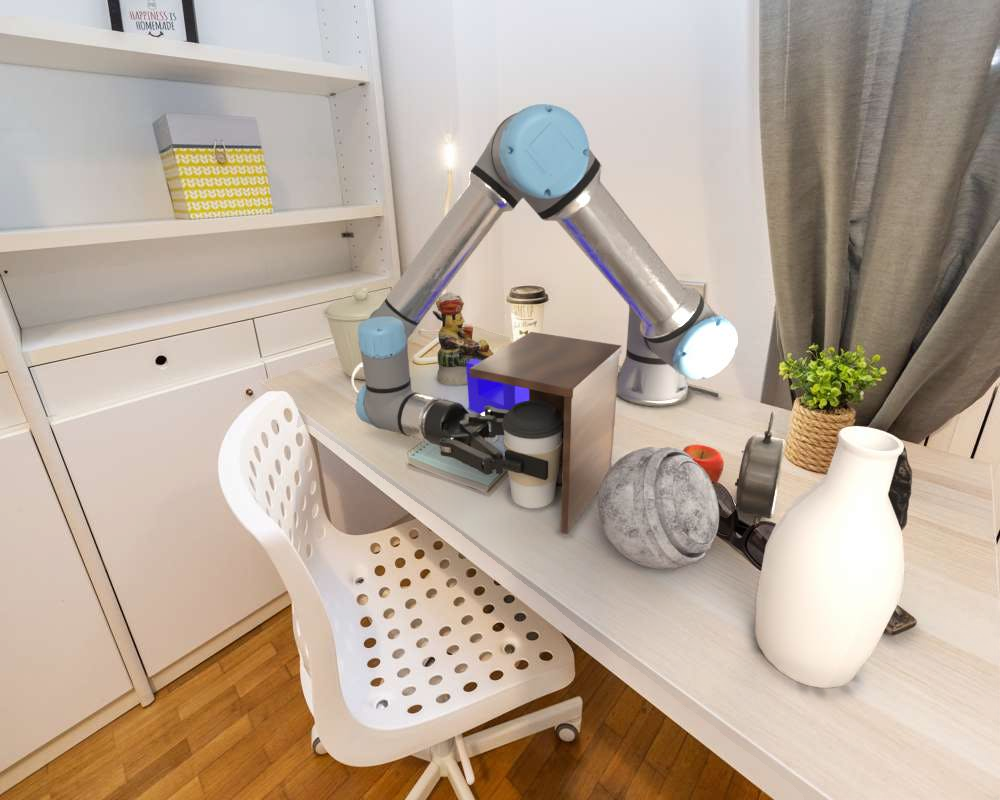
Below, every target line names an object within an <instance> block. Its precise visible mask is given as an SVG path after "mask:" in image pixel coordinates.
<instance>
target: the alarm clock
mask: <svg viewBox="0 0 1000 800" xmlns="http://www.w3.org/2000/svg"><path fill="white" fill-rule="evenodd" d="M774 419H775V411H771V413H770V417H769V422H768V428H767V430H765V431H764V435H760V434H759V435H758V434H756V435H752V436H751V437H750V438H748V439H747V442H746V443H745V447H744V450H741V453H742V457H741V462H740V467H739V473H738V477H737V478H736V481H735V482H734V486H735V487H736V497H735V500H736V501H735V502H736V504H735V505H734V508H735V509H736V508H738V509H739V510H740V511H741V512H742V513H744V514H745V513H746V514H749V515H753V516H754V517H753V518H754V519H753V525H754V524H755V523H757V522H759V523H760V522H761V518H766V519H772V517H773V515H774V511H775V506H776V505H775V504H776V501H777V496H778V491H779V484H780V479H781V474H782V467H783V460H784V454H785V449H786V440H785V439H784V438H775V437H773V432H772V431H771V430H772V427H773V424H774V423H773V422H774Z"/></svg>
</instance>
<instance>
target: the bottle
mask: <svg viewBox="0 0 1000 800" xmlns="http://www.w3.org/2000/svg"><path fill="white" fill-rule="evenodd" d="M837 439H838V442H837V444H836V448H835V450H834V453H833V455H832V458H831V461H830V464H829V465H828V470H827V472H826V475H825V476H824V477H823V478H822V479H820V480H819V481H818V482H816V483H814V485H812V486H811V487H809V488H808V489H806V490H805V491H804V492H803V493H801V494H800V495H799V496H798V497H796V498H795V500H794V501H793V502H791V504H790V505H789V506H788V508H787V509H786V510H785V512H784V513H783V514H782V516H781V517H780V518H779V519H778V520H777V522H776V523H775V525H774V527H773V529H772V532H771V533H770V535H769V537H768V540H767V542H766V543H765V548H764V553H763V558H762V563H761V568H760V569H761V570H760V575H759V582H758V587H757V593H756V598H755V599H756V600H755V601H756V602H755V631H754V632H755V633H754V634H755V637H756V638H755V639H756V641H757V645H758V647H759V648H760V650H761V651H762V653H763V655H764V657H765V658H766V659H767V661H768V662H769V663H770V664H772V666H773V667H774V668H775V669H777V670H778V671H779V672H780V673H781V674H783V675H785V676H786V677H788V678H789V679H791V680H792V681H796V682H797V683H800V684H802V685H805V686H808V687H813V688H820V689H830V688H839V687H842V686H845V685H846V684H848V683H850V682H851V681H852V680H853V679H854V677H856V675H857V674H858V673H859V671H860V669H862V667H863V665H864V664H865V663H866V661H867V660H868V659H869V658H870V656H871V655H872V654H873V652H874V651H875V649H876V647H877V645H878V644H879V642H880V640H881V638H882V636H883V634H884V632H885V631H884V630H885V628H886V626H887V624H888V622H889V620H890V618H891V616H892V614H893V612H894V610H895V608H896V606H897V605H899V602H900V600H901V598H902V592H903V587H904V580H905V572H906V566H905V565H906V564H905V551H904V538H903V533H902V532H903V530H902V531H901V528H900V525H899V523H898V520H897V518H896V515H895V512H894V510H893V507H892V504H891V502H890V499H889V497H888V492H889V489H890V485H891V481H892V478H893V474H894V470H895V467H896V463H897V459H898V456H899V455H900V454H901V453H902V452H903V449H904V447H905V445H904V443H903V441H902V440H901V439H899V438H898V437H897V436H895V435H893V434H892V433H889V432H887V431H884V430H881V429H877V428H874V427H868V426H860V425H852V426H846V427H842V428H840V430H839V432H838V434H837Z"/></svg>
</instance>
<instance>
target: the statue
mask: <svg viewBox="0 0 1000 800" xmlns="http://www.w3.org/2000/svg"><path fill="white" fill-rule="evenodd" d="M912 485H913V470H912V467H911V465H910V463H909V459H908V452H907V448H906V446H904V449H903V452H902V453H901V454H900V455H899V456H898V459H897V463H896V467H895V470H894V474H893V478H892V481H891V485H890V489H889V492H888V497H889V499H890V502H891V504H892V507H893V510H894V512H895V515H896V518H897V520H898V523H899V525H900V528H901V531H902V532H903V530H904V529H905V527H906V526H907V523H908V510H909V507H910V506H909V505H910V499H911V495H912ZM917 623H918V621H917V619H916V618H915V617H914V616H913V615H912V614H911V613H909V612H908V611H906V610H905V609H904V608H903V607H901V606H900V605H899V604H897V606H896V608H895V610H894V612H893V614H892V616H891V618H890V620H889V622H888V624H887V626H886V628H885V630H884V632H885V633H886V634H888V635H890V636H894V635H898V634H901V633H903V632H906V631H908V630H911V629H913V628H915V627H916V626H917Z"/></svg>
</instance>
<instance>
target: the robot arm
mask: <svg viewBox="0 0 1000 800" xmlns="http://www.w3.org/2000/svg"><path fill="white" fill-rule="evenodd" d="M602 166H603V165H602V164H601V162H600V161H599V159H598V158H597V157H596V156H595V154H594V153H593V151H592V150H591V149H590V143H589V138H588V135H587V132H586V130H585V128H584V126H583V124H582V123H581V121H580V120H579V119H578V118H577V116H575V115H574V114H573V113H572V112H570V111H568V109H565V108H563V107H561V106H558V105H553V104H547V103H540V104H539V103H537V104H533V105H529V106H526V107H524V108H523V109H521V110H519V111H518V112H516V113H513V114H511V115H509V116H508V117H506V118H505V119H504V120H502V121H501V123H500V124H499V125H498V126H497V127H496V129H495V131H494V132H493V134H492V136H491V137H490V139H489V141H488V143H487V145H486V147H485V148H484V150H483V152H482V153H481V155H480V156H479V158H478V160H476V162H475V164H474V166H473V167H472V168H471V169H470V171H469V173H468V178H469V183H468V184H467V185H466V187H465V188H464V190H463V191H462V192H461V194H460V196H459V197H458V198H457V200H456V201H455V202H454V204H453V205H452V206H451V208H450V209H449V211H448V212H447V213H446V215H445V216H444V217H443V219H442V220H441V222H440V223H439V224H438V226H437V227H436V228H435V230H434V231H433V232H432V234H431V235H430V236H429V238H428V240H427V241H426V242H425V243H424V244H423V246H422V247H421V249H420V250H419V251H418V253H417V255H416V256H415V257H414V259H413V260H412V261H411V263H410V264H409V265H408V267H407V268H406V269H405V271H404V272H403V274H402V275H401V276H400V278H399V279H398V280H397V282H396V283H395V285H394V286H393V287H392V289H391V290H390V292H389V293H388V294H387V295H386V296H387V298H386V299H385V300H384V302H383V303H382V304H381V306H380V307H379V308H378V309H376V310H375V311H374V312H373V313H372V314H371V316H370V318H369V319H367V320H365V321H364V322H362V323H360V325H359V327H358V335H359V348H360V351H361V357H362V363H363V369H364V374H365V380H364V381H365V385H363V386H362V387H361V388H360V389H359V393H358V394H357V395H356V398H357V399H356V402H355V404H354V408H355V412H356V415H357V416H358V418H359V419H360V421H362V422H363V423H366V424H368V425H371V426H373V427H375V428H377V429H379V430H380V429H381V430H384V431H385V430H386V431H390V432H392V433H393V432H394V433H398V434H400V435H401V434H402V435H403V436H407V437H411V438H414V439H417V440H420V441H424V442H426V443H430V444H432V445H436V446H439V452H440V455H441V456H442V457H447V458H452V459H454V460H456V461H458V462H460V463H462V464H464V465H465V466H468V467H470V468H471V469H474V470H476V471H478V472H480V473H482V474H484V475H487V476H490V475H492V474H493V473H494V472H493V471H495V474H496V475H503V474H504V470H506V471H508V470H509V471H512V472H515V473H523V474H526V475H529V476H533V477H536V478H539V479H543V480H547V478H548V461H546V460H543V459H539V458H536V457H532V456H528V455H525V454H521V453H518V452H514V451H511V450H506V451H505V450H504V454H503V451H502V450H500V449H499V448H498V447H496V446H495V445H493V444H492V443H491V442H490V441H488V440H487V439H494V438H496V437H497V436H505V435H504V429H503V427H502V421H503V419H504V416H505V414H506V413H507V412H508V411H509V410H504V409H497V408H494V407H491V406H485V407H484V409H485V412H483V413H481V414H479V413H477V412H469V411H468V410H467V408H466V407H465V406H464V405H462V403H459V402H457V401H452V400H449V399H443V398H441V397H437V396H432V395H428V394H424V393H419V392H415V391H413V389H412V381H411V373H410V363H409V353H408V352H409V351H408V350H409V349H408V348H409V347H408V341H409V340H408V339H409V338H410V336H411V335H412V334H413V332H414V331H415V330H416V328H417V327H418V325H419V324H420V323H421V321H422V320H423V319H424V317H425V316H426V315H427V314H428V312H429V311H430V309H432V307H433V306H434V304H436V302H437V301H438V300H439V298H440V297H441V296H442V295H443V294H442V293H443V292H444V291H445V290H446V289H447V287H448V286H449V284H450V283H451V282H452V281H453V280H454V278H455V277H456V276H457V274H458V273H459V271H460V270H461V269H462V268H463V266H464V265H465V264H466V262H467V261H468V260H469V258H470V257H471V256H472V254H473V253H474V252H475V250H476V249H477V248H478V247H479V245H480V244H481V242H482V241H483V240H484V239H485V237H486V236H487V235H488V233H489V232H490V231H491V229H492V228H493V227H494V226H495V224H496V223H497V222H498V220H499V219H500V218H501V216H502V215H503V214H504V213H506V212H513V210H514V209H515V207H516V206H517V205H518V204H519V203H520V202H521V200H522V199H524V201H525V202H526V203H527V204H528V205H529V207H530V208H531V209H532V210H533V211H534V212H535V213H536V214H537V216H538V217H539V218H540V219H541V220H542V221H546V222H557V223H558V224H559V226H560V227H561V228H562V229H563V230H564V231H565V232H566V234H567V236H569V237H570V238H571V240H572V241H573V242H574V243H575V244H576V246H578V248H579V249H580V250H581V251H582V252H583V253H584V255H585V256H586V258H588V259H589V260H590V262H591V263H592V264H593V265H594V266H595V267H596V269H597V270H598V271H599V272H600V274H601V275H602V276H603V277H604V278H605V279H606V281H607V282H608V283H609V284H610V285H611V286H612V287H613V289H614V290H615V291H616V292H617V293H618V294H619V295H620V297H621V298H622V299H623V300H624V301H625V303H626V304H627V305H628V308H629V309H628V322H627V338H626V351H625V358H624V360H623V362H622V365H621V367H620V369H619V371H618V378H617V392H616V396H618V397H619V398H620V399H622V400H624V401H627V402H628V403H632V404H634V405H635V404H636V405H640V406H645V407H669V406H675V405H677V404H678V405H679V404H681V403H683V402H684V401H685V400H686V399H687V398H688V394H689V391H693V392H697V393H701V394H705V395H708V396H712V397H715V398H718V397H719V393H718V392H714V391H710V390H707V389H703V388H699V387H695V386H691V385H689V383H688V379H690V380H697V381H698V380H705V379H708V378H711V377H713V376H715V375H716V374H718V373H720V372H721V371H722V370H723V369H724V368H725V367H726V366H727V365H728V364H729V363H730V361H731V360H732V359H733V357H734V355H735V349H736V348H737V346H738V332H737V330H736V328H735V326H734V325H733V323H731V322H730V321H729V319H727V318H726V317H725V316H723V315H718V314H717V313H716V312H715V311H714V310H713V308H711V306H710V304H709V303H708V302H707V300H705V298H704V297H703V295H702V294H700V292H699V290H697V289H696V288H695V287H692V286H687V285H686V286H685V285H682V284H681V283H680V282H679V281H678V279H677V278H676V277H675V275H674V274H673V273H672V272H671V270H670V269H669V268H668V266H667V265H666V264H665V262H664V261H663V260H662V259H661V257H660V256H659V255H658V253H657V252H656V251H655V250H654V248H653V247H652V246H651V245H650V243H649V242H648V241H647V239H646V238H645V236H644V235H643V234H642V233H641V231H640V230H639V229H638V228H637V227H636V225H635V224H634V223H633V221H632V220H631V219H630V218H629V216H628V215H627V214H626V212H625V211H624V210H623V209H622V207H621V206H620V204H619V203H618V202H617V200H616V199H615V198H614V197H613V196H612V195H611V193H610V192H609V190H608V189H607V188H606V187H605V186H604V184H603V183H602V181H601V175H602ZM563 432H564V429H562V447H563Z"/></svg>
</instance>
